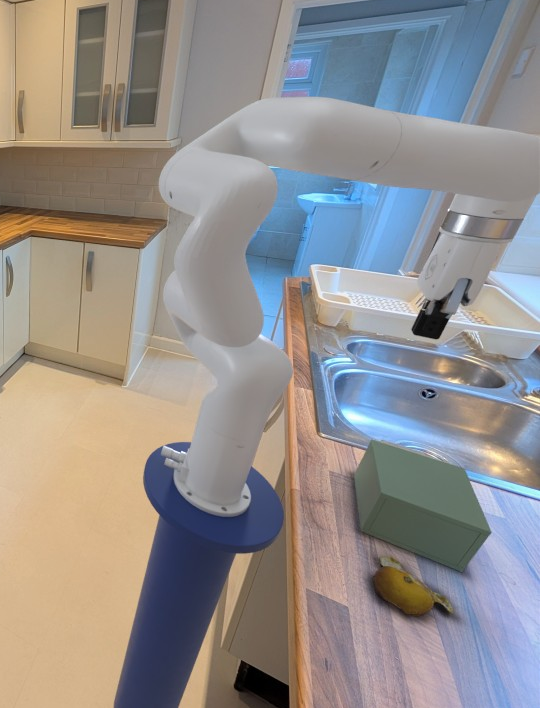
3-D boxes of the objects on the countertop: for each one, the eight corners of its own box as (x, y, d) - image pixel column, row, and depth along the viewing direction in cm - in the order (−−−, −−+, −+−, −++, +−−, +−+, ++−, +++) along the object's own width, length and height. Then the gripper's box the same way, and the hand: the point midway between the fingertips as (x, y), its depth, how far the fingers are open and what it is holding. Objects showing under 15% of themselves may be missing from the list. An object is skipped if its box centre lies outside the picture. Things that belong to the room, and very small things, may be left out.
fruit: (457, 609, 57) (470, 592, 55) (424, 637, 54) (436, 620, 52) (384, 554, 64) (394, 538, 62) (351, 577, 61) (361, 560, 59)
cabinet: (353, 475, 77) (371, 439, 74) (440, 505, 72) (464, 468, 68) (360, 531, 67) (381, 492, 64) (462, 572, 61) (491, 532, 58)
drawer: (357, 453, 81) (370, 425, 78) (430, 477, 76) (447, 448, 73) (365, 516, 69) (382, 486, 66) (454, 551, 63) (476, 519, 60)
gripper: (432, 212, 69) (388, 312, 77) (456, 233, 58) (401, 348, 66) (498, 219, 66) (444, 323, 73) (537, 242, 54) (468, 363, 62)
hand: (424, 335), depth 70 cm, fingers closed
